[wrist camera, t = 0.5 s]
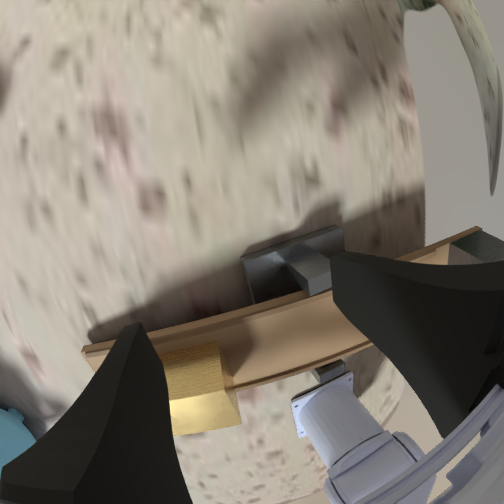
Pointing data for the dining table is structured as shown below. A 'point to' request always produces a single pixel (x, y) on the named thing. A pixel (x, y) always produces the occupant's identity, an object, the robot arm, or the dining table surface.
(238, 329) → the beam
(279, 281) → the pivot stand
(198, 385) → the block
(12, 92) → the dining table surface
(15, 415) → the teapot
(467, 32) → the dining table surface
